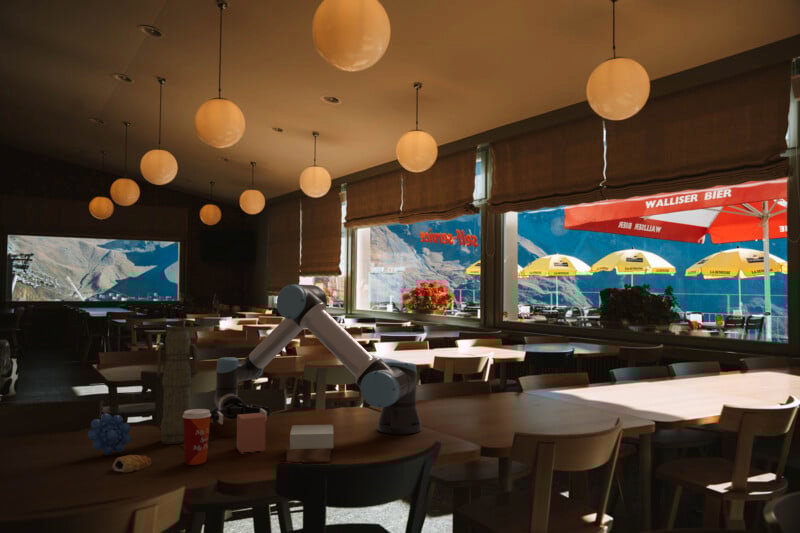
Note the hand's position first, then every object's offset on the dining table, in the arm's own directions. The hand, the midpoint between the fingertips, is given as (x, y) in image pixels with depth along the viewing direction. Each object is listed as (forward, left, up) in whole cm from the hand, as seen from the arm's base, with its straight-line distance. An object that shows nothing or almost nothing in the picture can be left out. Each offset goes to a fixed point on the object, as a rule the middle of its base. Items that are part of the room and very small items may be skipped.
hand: (244, 418), depth 192 cm
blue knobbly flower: (+36, +13, -8) cm, 39 cm away
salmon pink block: (-3, +9, -8) cm, 12 cm away
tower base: (-21, +18, -8) cm, 29 cm away
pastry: (+25, +27, -8) cm, 38 cm away
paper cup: (+10, +22, -8) cm, 25 cm away
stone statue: (+22, -4, -8) cm, 23 cm away
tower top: (-22, +18, -4) cm, 29 cm away
